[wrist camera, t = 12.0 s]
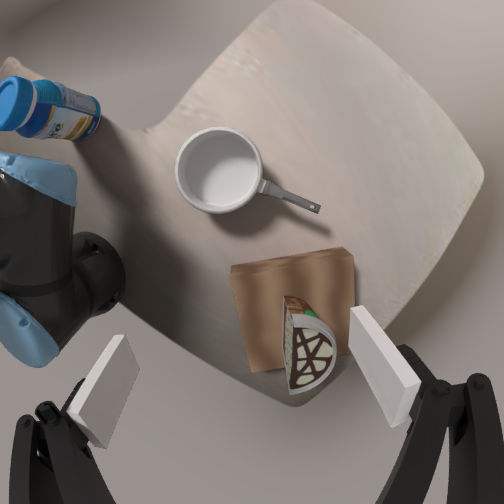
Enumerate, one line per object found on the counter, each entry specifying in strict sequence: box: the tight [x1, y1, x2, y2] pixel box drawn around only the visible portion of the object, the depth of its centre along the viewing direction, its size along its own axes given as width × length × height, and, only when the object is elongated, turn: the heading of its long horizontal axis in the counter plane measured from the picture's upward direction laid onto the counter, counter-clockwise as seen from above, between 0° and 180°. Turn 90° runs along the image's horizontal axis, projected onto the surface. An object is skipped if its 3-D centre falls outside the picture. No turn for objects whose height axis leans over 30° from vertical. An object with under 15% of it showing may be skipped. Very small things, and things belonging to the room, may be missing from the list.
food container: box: [282, 296, 337, 395], centre depth 36 cm, size 12×6×10 cm, turn 2°
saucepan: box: [174, 127, 321, 214], centre depth 36 cm, size 12×20×6 cm, turn 69°
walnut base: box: [230, 247, 355, 372], centre depth 43 cm, size 18×18×5 cm
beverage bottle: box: [0, 76, 101, 141], centre depth 25 cm, size 8×8×20 cm
